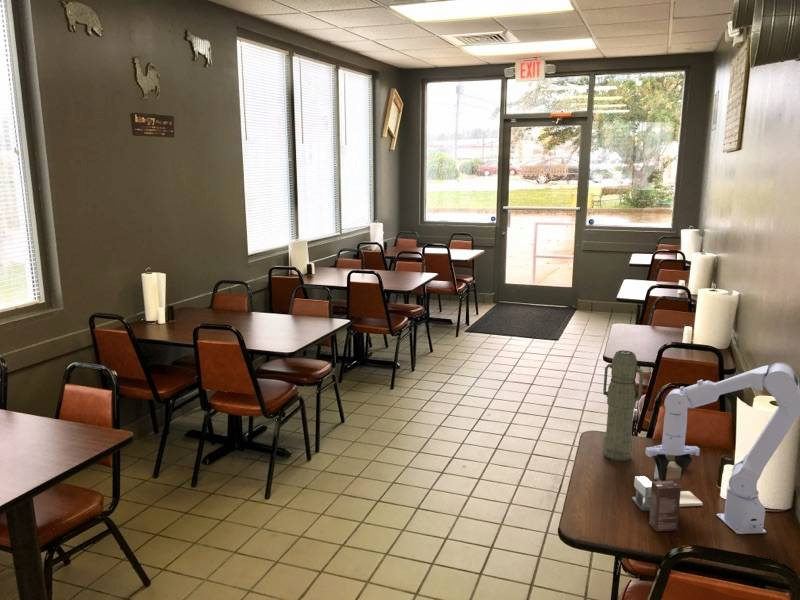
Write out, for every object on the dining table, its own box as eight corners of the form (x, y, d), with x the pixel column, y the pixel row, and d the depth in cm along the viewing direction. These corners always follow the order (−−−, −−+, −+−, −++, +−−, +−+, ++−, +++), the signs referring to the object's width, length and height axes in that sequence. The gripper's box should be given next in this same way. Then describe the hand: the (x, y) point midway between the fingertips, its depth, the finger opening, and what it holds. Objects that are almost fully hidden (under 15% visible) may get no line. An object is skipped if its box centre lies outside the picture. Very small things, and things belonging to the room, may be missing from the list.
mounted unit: (655, 510, 175) (657, 486, 174) (642, 511, 175) (644, 487, 173) (644, 499, 181) (646, 476, 180) (631, 499, 181) (633, 476, 180)
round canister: (670, 482, 192) (672, 469, 191) (658, 482, 192) (659, 469, 191) (664, 476, 196) (665, 463, 195) (651, 476, 196) (652, 464, 195)
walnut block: (679, 488, 176) (681, 467, 175) (665, 488, 175) (667, 468, 174) (672, 481, 180) (674, 461, 179) (658, 481, 179) (660, 461, 178)
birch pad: (702, 505, 178) (702, 503, 178) (678, 506, 177) (678, 503, 177) (689, 493, 185) (689, 491, 185) (665, 494, 184) (666, 491, 184)
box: (668, 522, 169) (673, 479, 167) (677, 531, 165) (682, 487, 162) (647, 522, 168) (651, 480, 166) (655, 532, 164) (659, 488, 162)
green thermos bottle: (635, 463, 204) (645, 357, 198) (597, 457, 208) (605, 353, 202) (636, 453, 212) (645, 351, 206) (599, 447, 216) (607, 347, 210)
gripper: (691, 426, 179) (686, 472, 182) (642, 428, 178) (637, 473, 180) (705, 436, 172) (700, 483, 175) (654, 438, 171) (649, 485, 173)
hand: (669, 479), depth 177 cm, fingers closed on walnut block, 4 cm apart
